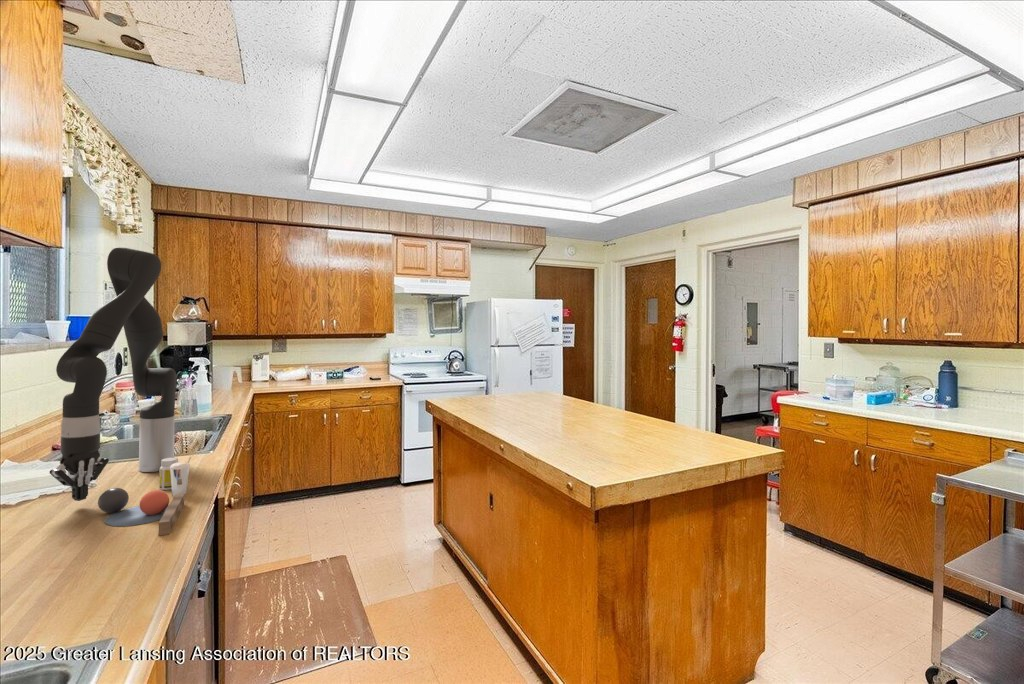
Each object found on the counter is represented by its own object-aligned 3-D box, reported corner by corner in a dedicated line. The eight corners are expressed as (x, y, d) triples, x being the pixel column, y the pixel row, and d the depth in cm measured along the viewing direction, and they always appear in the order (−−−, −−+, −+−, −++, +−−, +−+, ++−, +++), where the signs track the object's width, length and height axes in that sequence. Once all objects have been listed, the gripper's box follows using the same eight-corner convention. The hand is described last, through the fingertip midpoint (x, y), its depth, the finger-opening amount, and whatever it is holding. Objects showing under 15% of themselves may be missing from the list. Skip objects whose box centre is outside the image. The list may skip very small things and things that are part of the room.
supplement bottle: (183, 485, 141) (183, 457, 141) (170, 490, 136) (170, 461, 136) (168, 484, 142) (168, 456, 141) (155, 489, 137) (155, 460, 137)
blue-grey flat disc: (128, 505, 125) (128, 504, 125) (186, 504, 127) (186, 503, 127) (89, 527, 111) (89, 526, 111) (155, 525, 113) (155, 524, 113)
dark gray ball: (132, 511, 121) (109, 516, 121) (136, 487, 124) (113, 493, 124) (113, 507, 116) (89, 513, 116) (117, 483, 119) (93, 489, 119)
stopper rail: (175, 505, 126) (175, 494, 125) (184, 504, 126) (184, 493, 126) (158, 535, 108) (158, 522, 108) (169, 534, 108) (169, 521, 108)
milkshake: (195, 492, 136) (196, 457, 136) (177, 498, 131) (177, 462, 130) (184, 490, 137) (184, 455, 137) (165, 496, 132) (166, 460, 132)
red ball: (170, 516, 121) (149, 511, 122) (178, 492, 123) (157, 487, 123) (151, 518, 115) (129, 513, 116) (160, 493, 117) (138, 488, 118)
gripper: (63, 439, 115) (63, 510, 115) (118, 429, 128) (117, 492, 128) (39, 437, 116) (38, 507, 117) (96, 427, 129) (95, 490, 130)
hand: (80, 499), depth 122 cm, fingers closed
